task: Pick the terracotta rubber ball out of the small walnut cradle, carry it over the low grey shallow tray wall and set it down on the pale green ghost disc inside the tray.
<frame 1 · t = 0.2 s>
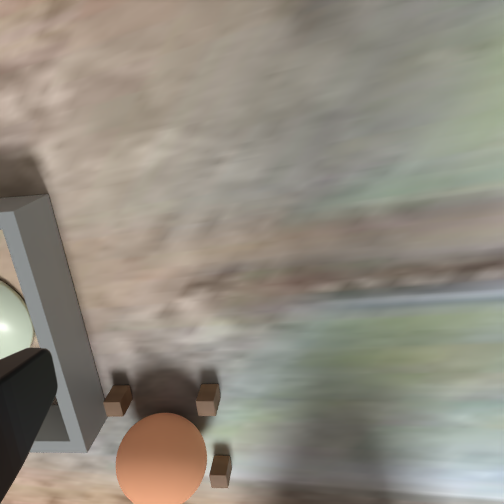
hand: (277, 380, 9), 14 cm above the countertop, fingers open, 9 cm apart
cradle: (174, 427, 28), on the countertop
ball: (174, 427, 28), on the countertop
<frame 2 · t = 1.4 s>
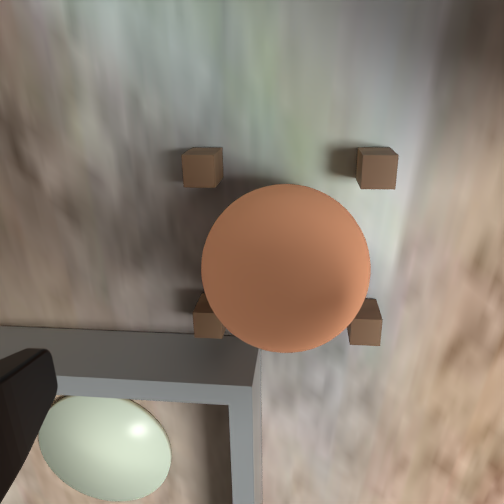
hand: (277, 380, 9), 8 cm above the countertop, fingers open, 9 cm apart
grey shallow tray: (106, 446, 21), on the countertop
cradle: (287, 239, 16), on the countertop
ball: (287, 239, 16), on the countertop
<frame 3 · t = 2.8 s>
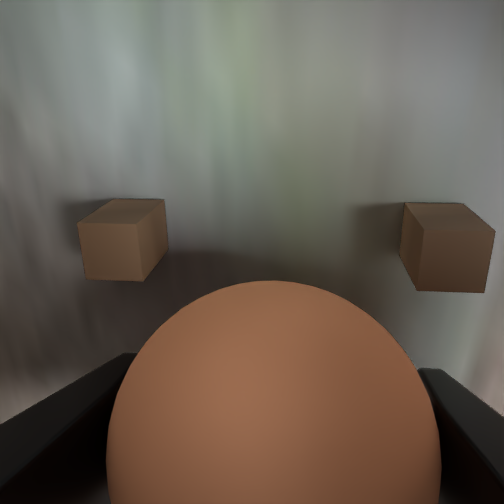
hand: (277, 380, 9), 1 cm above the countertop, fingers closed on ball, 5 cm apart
cradle: (280, 350, 10), on the countertop
ball: (279, 349, 10), on the countertop, touching gripper
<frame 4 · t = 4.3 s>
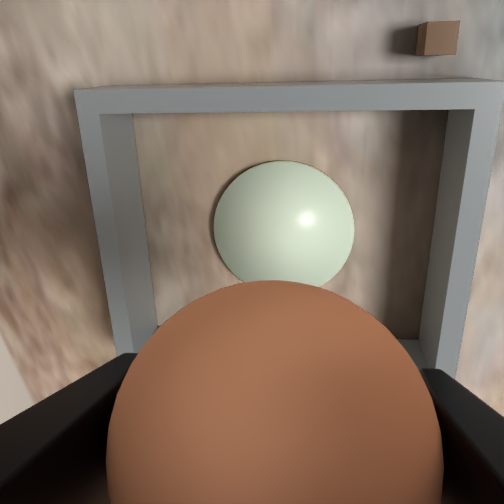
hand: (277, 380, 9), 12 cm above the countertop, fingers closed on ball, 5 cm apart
grey shallow tray: (283, 229, 20), on the countertop
ball: (280, 349, 10), point 11 cm above the countertop, touching gripper
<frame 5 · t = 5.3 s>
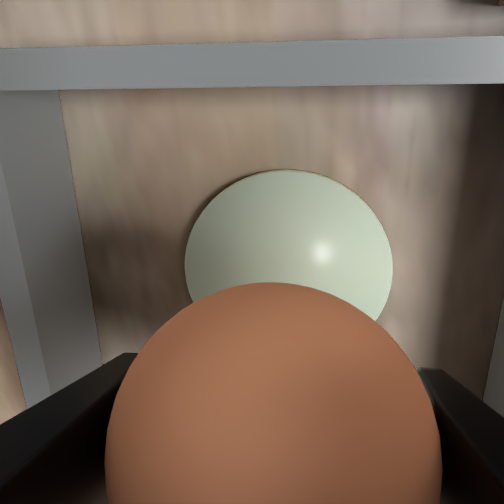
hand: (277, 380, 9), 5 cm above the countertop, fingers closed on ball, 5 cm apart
grey shallow tray: (286, 270, 14), on the countertop
ball: (279, 351, 10), point 4 cm above the countertop, touching gripper
when the fingers open (3 cm above the countertop, at t = 6.0 s): ball drops 2 cm, resting on grey shallow tray.
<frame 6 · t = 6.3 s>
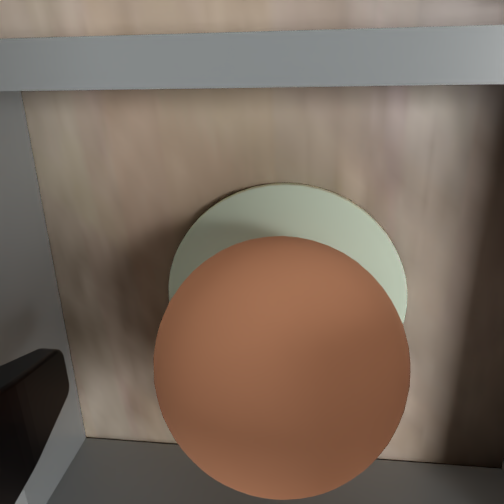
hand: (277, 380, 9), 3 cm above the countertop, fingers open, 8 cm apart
grey shallow tray: (284, 297, 12), on the countertop
ball: (284, 302, 12), resting on grey shallow tray
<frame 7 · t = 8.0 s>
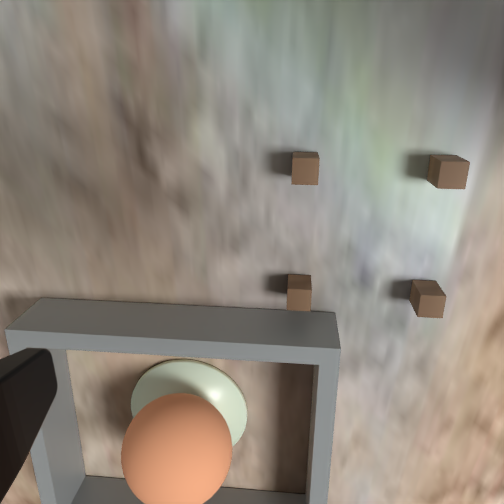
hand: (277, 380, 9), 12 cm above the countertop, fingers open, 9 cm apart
grey shallow tray: (189, 408, 24), on the countertop
cradle: (365, 230, 19), on the countertop
ball: (188, 412, 23), resting on grey shallow tray
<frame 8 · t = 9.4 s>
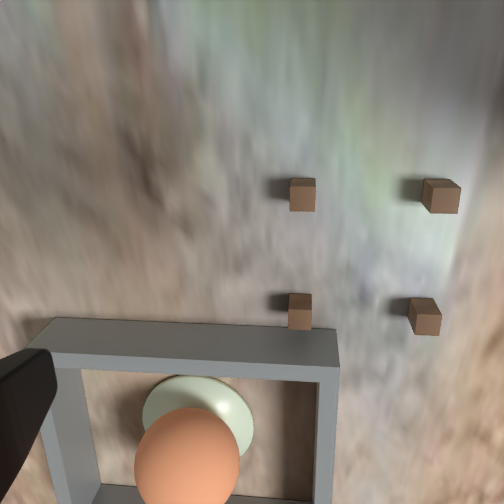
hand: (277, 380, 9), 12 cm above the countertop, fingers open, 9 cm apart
grey shallow tray: (198, 421, 25), on the countertop
cradle: (363, 251, 20), on the countertop
ball: (197, 424, 24), resting on grey shallow tray
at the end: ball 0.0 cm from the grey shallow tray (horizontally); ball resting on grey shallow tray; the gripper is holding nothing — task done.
